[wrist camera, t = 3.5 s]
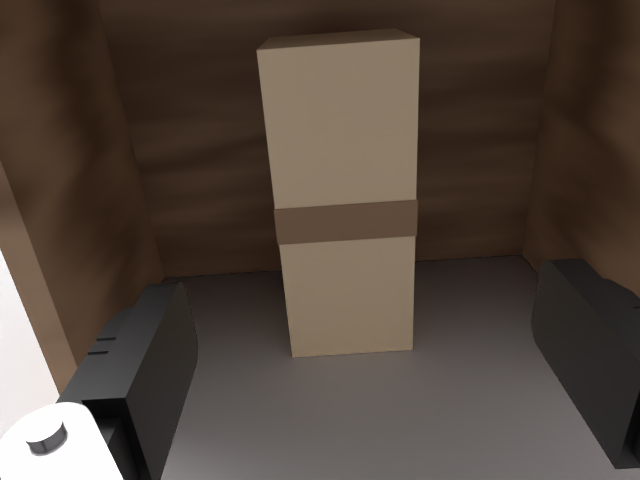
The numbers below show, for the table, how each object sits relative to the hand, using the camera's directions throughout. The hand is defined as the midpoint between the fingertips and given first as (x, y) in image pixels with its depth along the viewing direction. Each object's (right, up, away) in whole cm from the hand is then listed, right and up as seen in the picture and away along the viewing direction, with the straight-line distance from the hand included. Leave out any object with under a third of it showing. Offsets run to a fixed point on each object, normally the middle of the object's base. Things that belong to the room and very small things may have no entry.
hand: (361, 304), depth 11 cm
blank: (0, -2, +11) cm, 12 cm away
